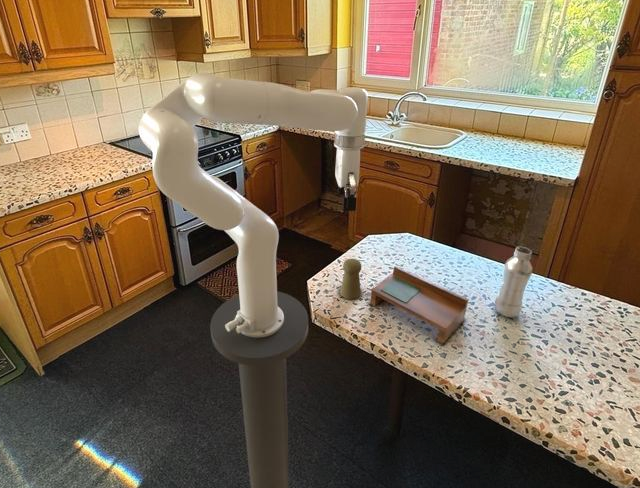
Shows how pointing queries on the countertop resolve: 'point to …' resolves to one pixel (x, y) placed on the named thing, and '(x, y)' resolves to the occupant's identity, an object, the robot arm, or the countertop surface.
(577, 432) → the countertop surface
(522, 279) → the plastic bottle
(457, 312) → the wooden shelf
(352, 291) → the cork
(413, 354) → the countertop surface
